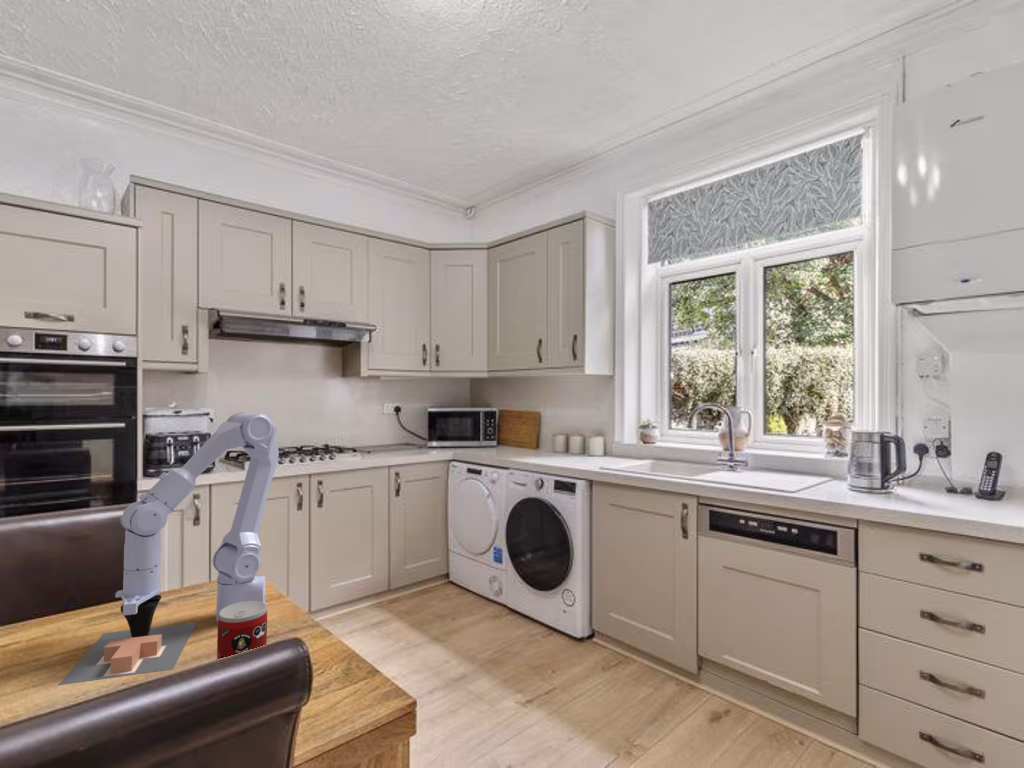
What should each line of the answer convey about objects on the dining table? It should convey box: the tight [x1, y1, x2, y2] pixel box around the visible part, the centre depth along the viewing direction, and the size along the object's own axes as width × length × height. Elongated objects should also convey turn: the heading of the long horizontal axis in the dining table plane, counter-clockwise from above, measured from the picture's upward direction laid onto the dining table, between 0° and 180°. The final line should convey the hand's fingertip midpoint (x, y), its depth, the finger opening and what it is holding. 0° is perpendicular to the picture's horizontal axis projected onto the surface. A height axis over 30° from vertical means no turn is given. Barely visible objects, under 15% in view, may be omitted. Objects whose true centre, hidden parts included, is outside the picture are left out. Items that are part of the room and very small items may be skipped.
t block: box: [104, 634, 162, 674], centre depth 95 cm, size 8×8×2 cm
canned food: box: [216, 601, 268, 660], centre depth 93 cm, size 8×8×11 cm
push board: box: [58, 621, 197, 686], centre depth 99 cm, size 16×20×1 cm
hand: (140, 639), depth 101 cm, fingers closed
